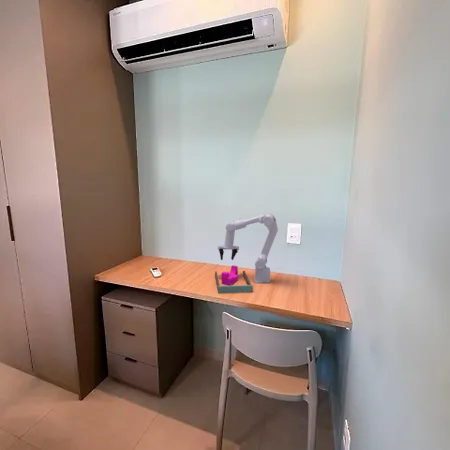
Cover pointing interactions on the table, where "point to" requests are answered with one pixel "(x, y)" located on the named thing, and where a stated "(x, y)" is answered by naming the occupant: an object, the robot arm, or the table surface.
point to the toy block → (230, 276)
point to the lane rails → (243, 276)
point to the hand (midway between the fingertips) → (226, 259)
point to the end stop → (235, 289)
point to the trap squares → (221, 276)
